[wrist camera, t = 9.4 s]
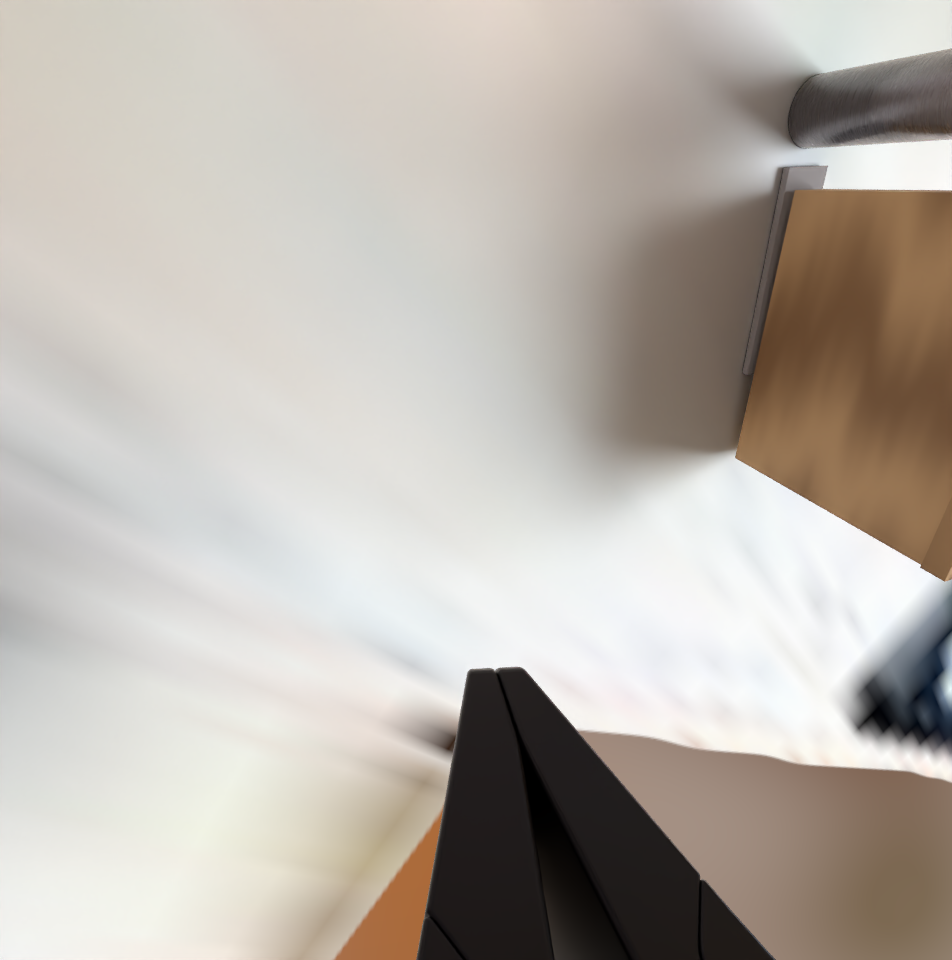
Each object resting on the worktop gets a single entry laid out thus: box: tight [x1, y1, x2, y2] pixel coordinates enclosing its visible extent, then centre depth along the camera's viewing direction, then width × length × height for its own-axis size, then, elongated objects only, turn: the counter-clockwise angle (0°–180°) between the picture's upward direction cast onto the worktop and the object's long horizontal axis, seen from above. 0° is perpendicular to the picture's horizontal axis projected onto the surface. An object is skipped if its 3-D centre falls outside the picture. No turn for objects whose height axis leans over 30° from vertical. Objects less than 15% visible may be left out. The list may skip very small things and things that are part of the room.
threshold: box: [742, 166, 828, 375], centre depth 20 cm, size 7×2×1 cm, turn 2°
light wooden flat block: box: [735, 189, 952, 581], centre depth 17 cm, size 10×2×8 cm, turn 1°
